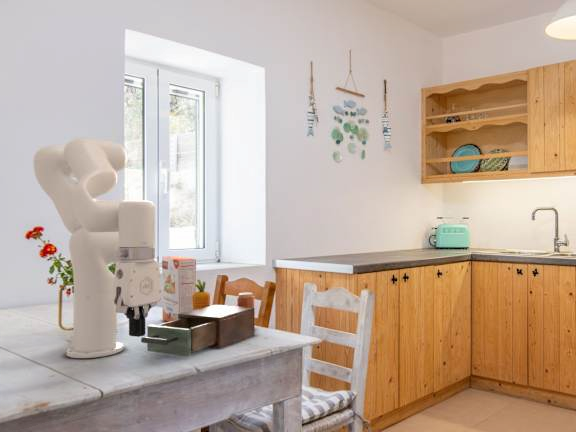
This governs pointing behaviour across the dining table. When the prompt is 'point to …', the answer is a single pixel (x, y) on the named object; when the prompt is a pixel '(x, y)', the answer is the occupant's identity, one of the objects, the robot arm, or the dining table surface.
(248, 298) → the spice jar
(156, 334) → the drawer
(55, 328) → the dining table surface
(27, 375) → the dining table surface
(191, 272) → the cracker box
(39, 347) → the dining table surface
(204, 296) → the carrot
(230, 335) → the cabinet
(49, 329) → the dining table surface
